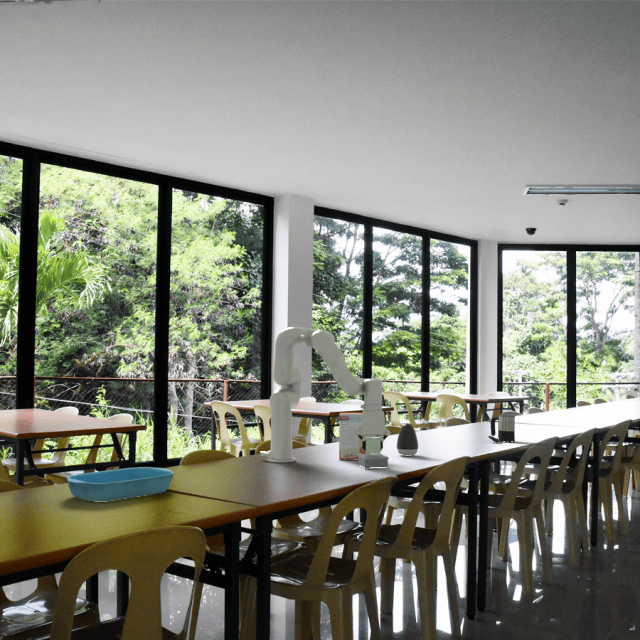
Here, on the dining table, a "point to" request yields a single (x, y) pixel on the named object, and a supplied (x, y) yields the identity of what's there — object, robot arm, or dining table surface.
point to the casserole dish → (120, 483)
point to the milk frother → (503, 428)
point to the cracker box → (350, 436)
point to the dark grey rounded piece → (407, 440)
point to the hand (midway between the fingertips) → (372, 450)
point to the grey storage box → (372, 460)
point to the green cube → (373, 445)
